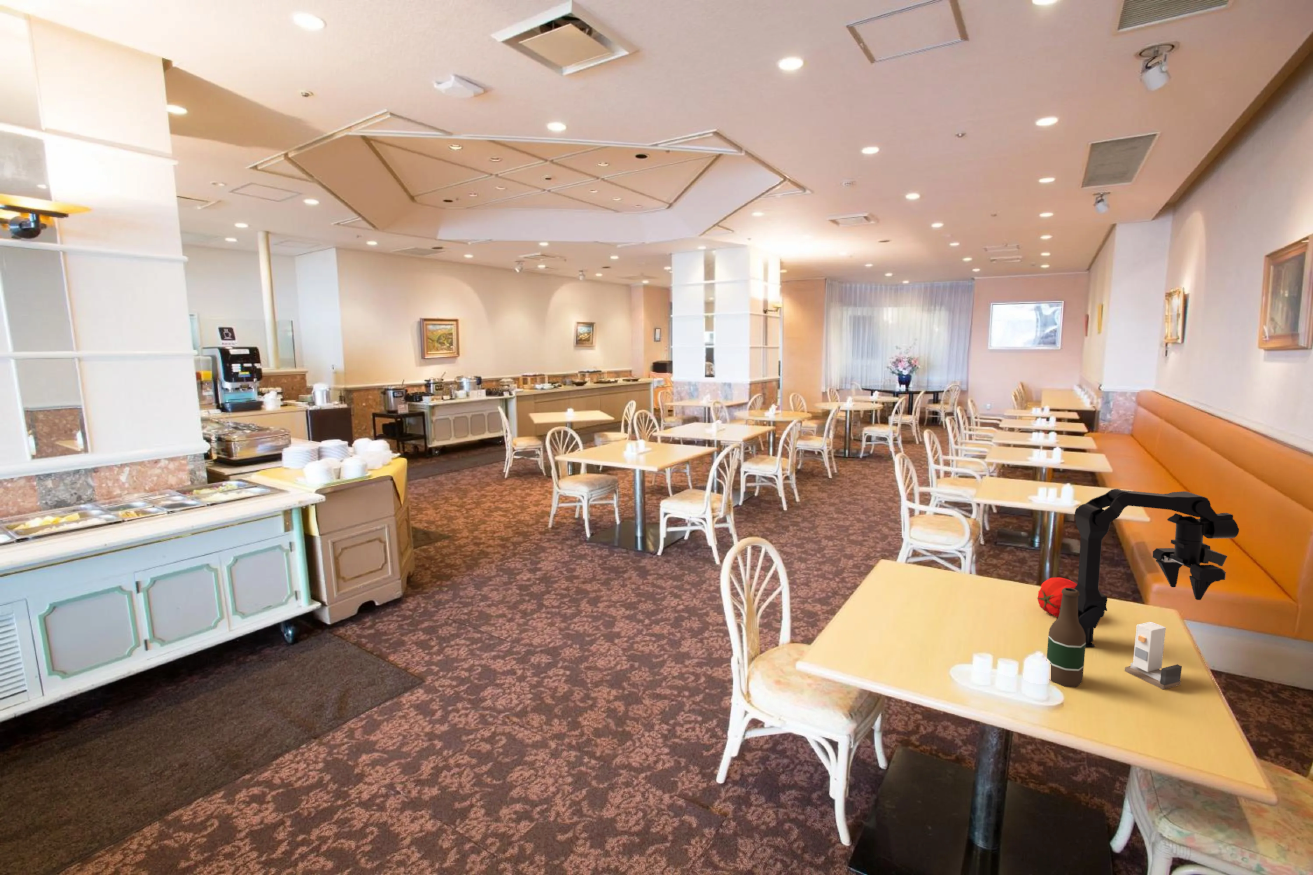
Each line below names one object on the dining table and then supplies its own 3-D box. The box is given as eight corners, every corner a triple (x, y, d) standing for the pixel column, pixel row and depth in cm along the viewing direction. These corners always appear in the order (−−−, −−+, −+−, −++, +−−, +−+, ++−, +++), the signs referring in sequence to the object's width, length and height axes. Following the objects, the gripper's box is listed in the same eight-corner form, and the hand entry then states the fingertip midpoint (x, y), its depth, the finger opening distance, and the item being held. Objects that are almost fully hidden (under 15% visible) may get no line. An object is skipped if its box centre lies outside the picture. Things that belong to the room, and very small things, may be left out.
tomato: (1073, 618, 193) (1037, 624, 191) (1057, 579, 198) (1021, 584, 196) (1105, 612, 182) (1067, 617, 179) (1086, 570, 187) (1049, 575, 184)
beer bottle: (1083, 691, 148) (1091, 598, 145) (1045, 682, 152) (1052, 592, 149) (1081, 676, 155) (1088, 587, 151) (1045, 668, 159) (1051, 581, 155)
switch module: (1131, 665, 155) (1135, 624, 153) (1146, 661, 156) (1150, 621, 155) (1145, 672, 152) (1149, 630, 150) (1161, 668, 153) (1165, 627, 152)
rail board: (1124, 670, 157) (1126, 652, 156) (1141, 666, 158) (1143, 648, 158) (1163, 689, 148) (1165, 670, 147) (1180, 684, 150) (1182, 666, 149)
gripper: (1250, 548, 155) (1246, 606, 157) (1195, 528, 173) (1191, 580, 175) (1203, 549, 156) (1199, 606, 158) (1152, 529, 175) (1149, 581, 177)
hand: (1185, 593), depth 167 cm, fingers open, 9 cm apart
